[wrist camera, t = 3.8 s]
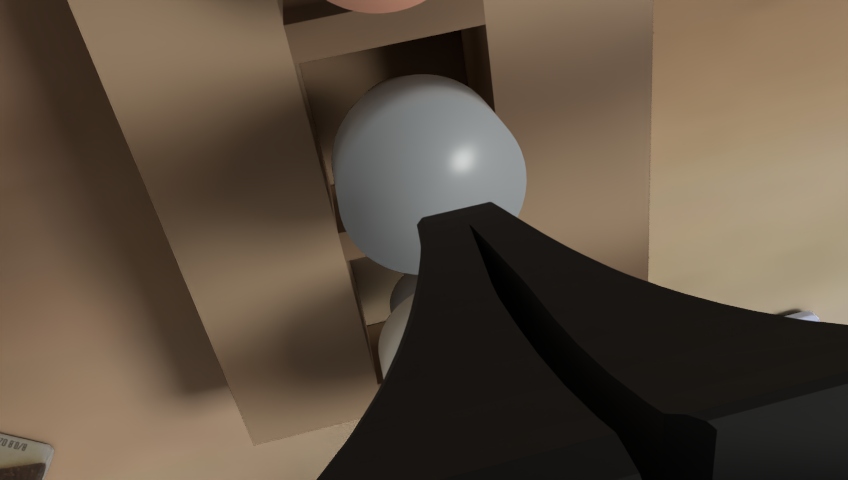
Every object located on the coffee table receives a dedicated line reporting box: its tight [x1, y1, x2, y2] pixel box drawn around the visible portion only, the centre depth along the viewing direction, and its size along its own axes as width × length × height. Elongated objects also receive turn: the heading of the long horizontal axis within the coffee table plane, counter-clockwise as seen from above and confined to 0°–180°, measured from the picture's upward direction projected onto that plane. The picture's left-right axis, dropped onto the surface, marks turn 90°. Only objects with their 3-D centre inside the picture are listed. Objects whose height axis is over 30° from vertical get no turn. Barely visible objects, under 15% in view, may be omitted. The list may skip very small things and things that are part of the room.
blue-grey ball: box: [332, 74, 527, 275], centre depth 16 cm, size 4×4×4 cm
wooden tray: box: [67, 0, 653, 445], centre depth 18 cm, size 18×13×3 cm
